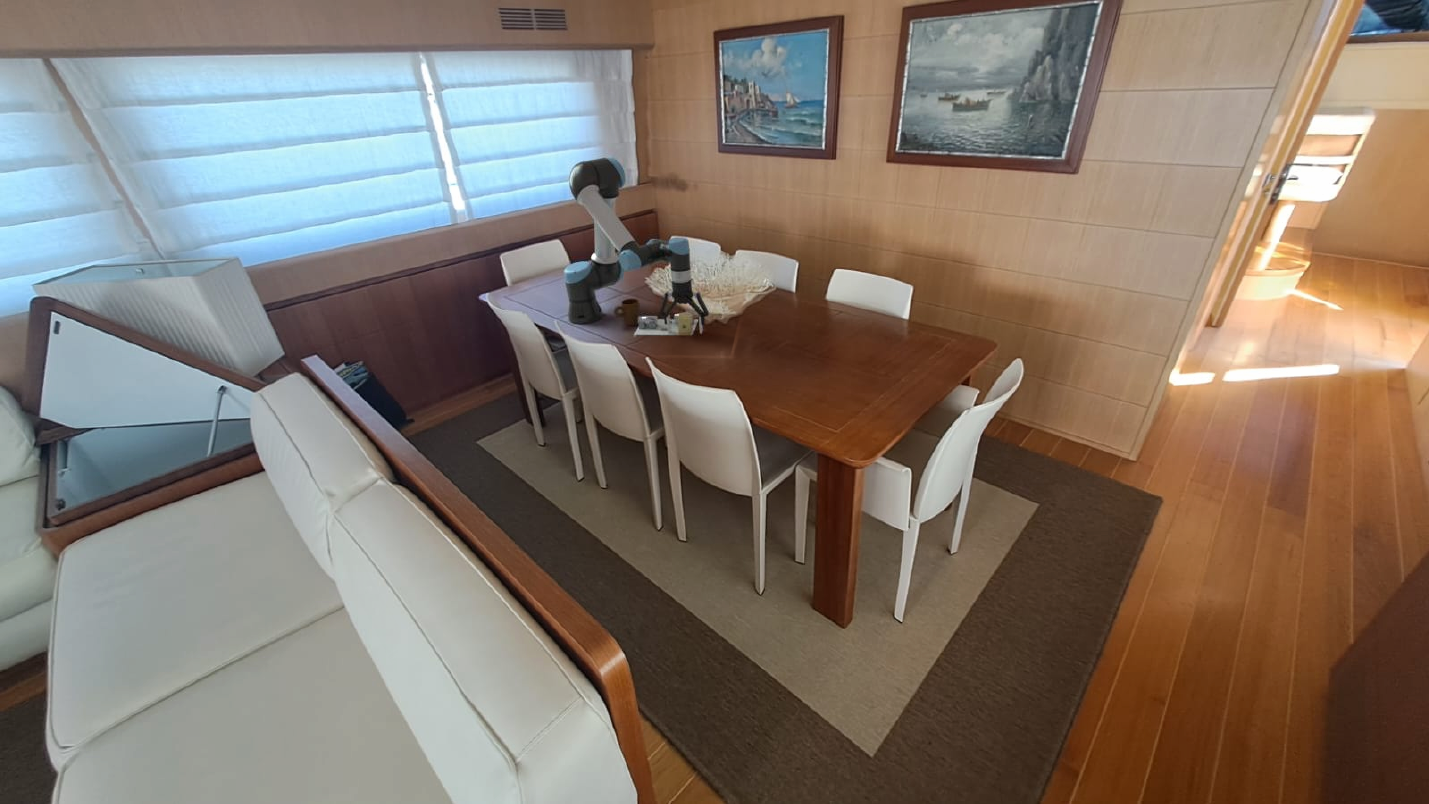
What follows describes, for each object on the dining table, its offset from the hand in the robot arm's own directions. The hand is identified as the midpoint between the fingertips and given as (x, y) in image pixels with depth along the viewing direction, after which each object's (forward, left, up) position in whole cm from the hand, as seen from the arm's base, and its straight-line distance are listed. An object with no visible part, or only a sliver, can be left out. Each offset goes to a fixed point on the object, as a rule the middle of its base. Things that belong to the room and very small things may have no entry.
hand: (685, 332), depth 218 cm
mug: (-28, -8, -2) cm, 29 cm away
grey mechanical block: (-16, -6, 0) cm, 17 cm away
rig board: (-10, -1, -1) cm, 10 cm away
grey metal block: (-7, +6, 0) cm, 9 cm away
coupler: (0, 0, 0) cm, 0 cm away
